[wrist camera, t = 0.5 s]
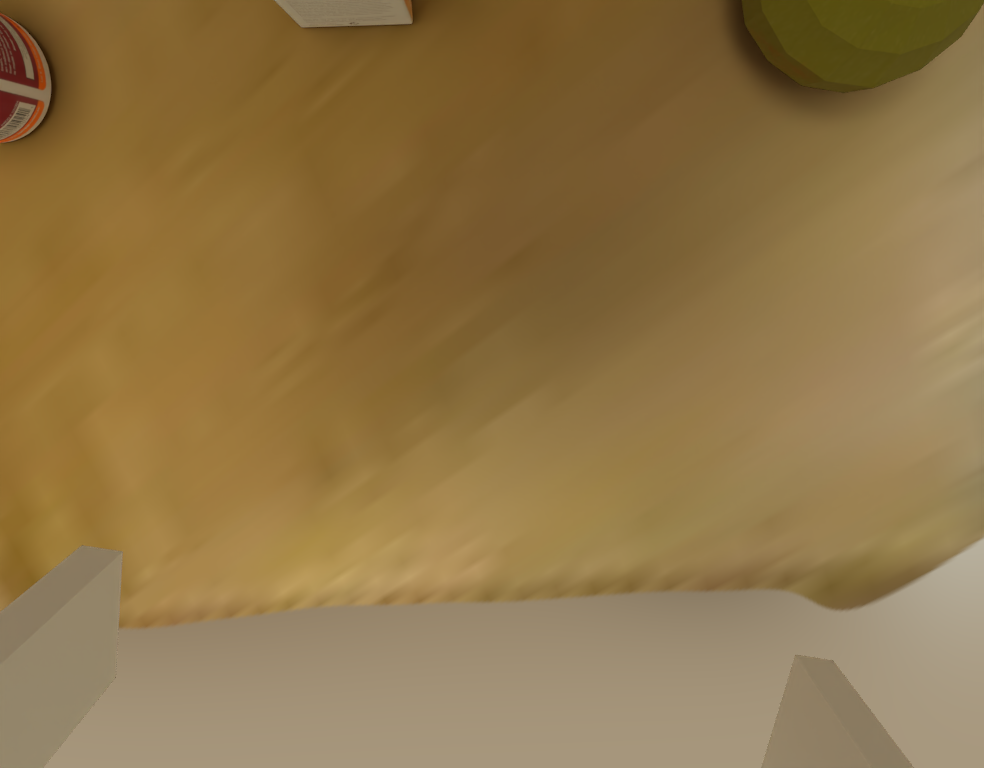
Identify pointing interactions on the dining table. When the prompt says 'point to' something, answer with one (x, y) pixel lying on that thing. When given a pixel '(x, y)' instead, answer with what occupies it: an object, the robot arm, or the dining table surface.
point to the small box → (348, 12)
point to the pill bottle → (21, 82)
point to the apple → (855, 37)
